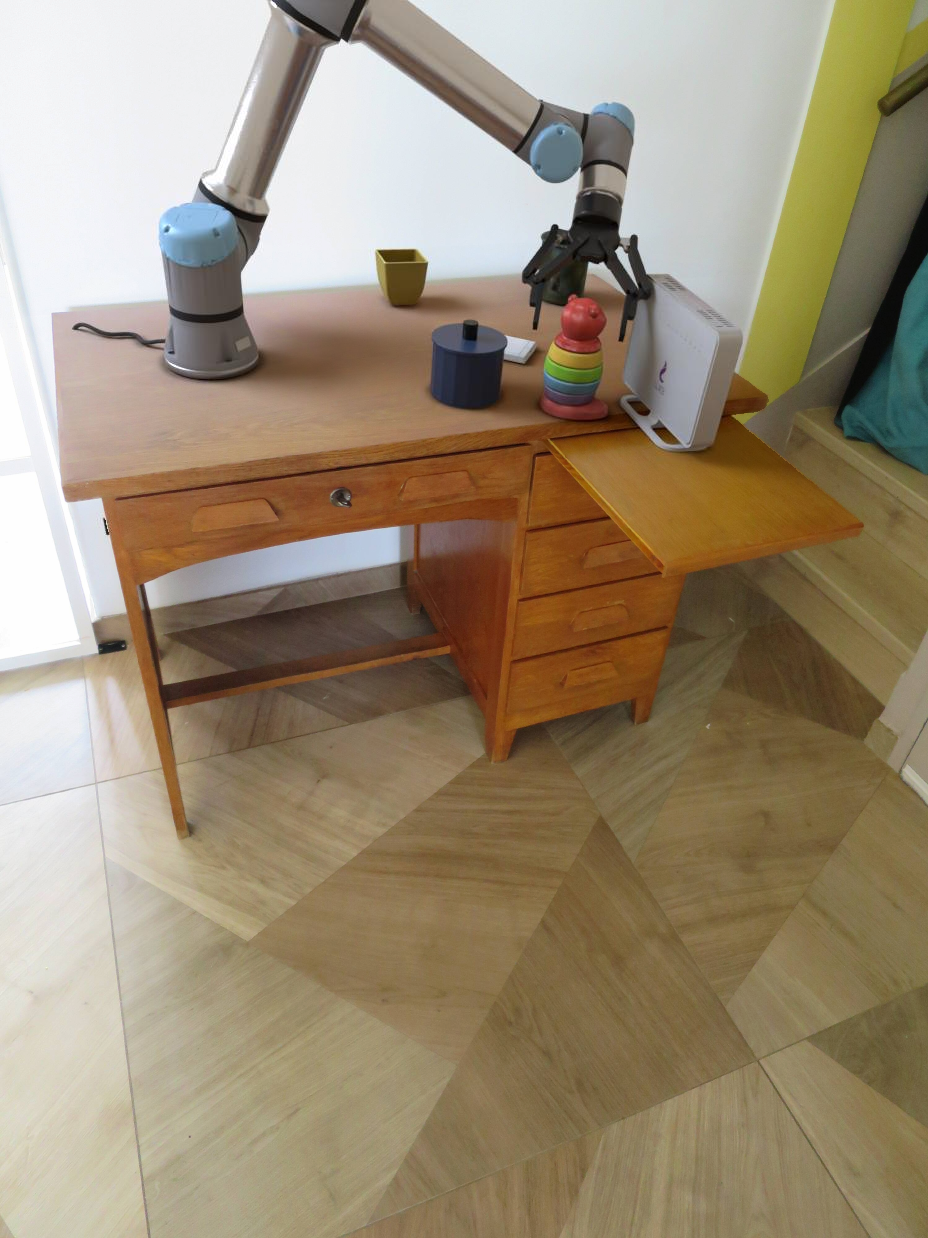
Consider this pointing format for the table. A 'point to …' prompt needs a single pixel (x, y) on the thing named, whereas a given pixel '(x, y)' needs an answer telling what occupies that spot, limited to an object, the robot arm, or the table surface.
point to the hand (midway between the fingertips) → (578, 332)
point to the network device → (680, 364)
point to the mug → (564, 277)
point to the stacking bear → (575, 363)
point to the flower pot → (401, 274)
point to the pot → (466, 378)
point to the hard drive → (518, 349)
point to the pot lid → (469, 339)
